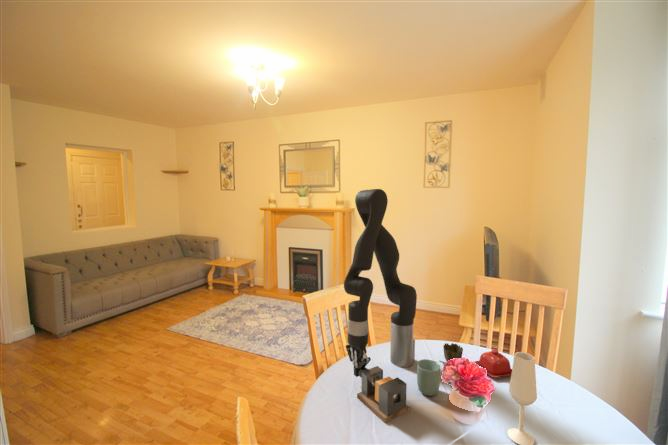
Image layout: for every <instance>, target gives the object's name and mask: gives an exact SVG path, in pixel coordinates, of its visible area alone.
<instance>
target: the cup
mask: <svg viewBox="0 0 668 445" xmlns="http://www.w3.org/2000/svg"><path fill="white" fill-rule="evenodd" d="M416 381H417V386H418V390H419V392H421V394H423V395H424V396H426V397H427V396H428V397H432V396H436V395H437V394H438V393H439V390H440V386H441V365H440V363H439V362H437V361H435V360H433V359H427V358H425V359H420V360H418V362H417V367H416Z"/></svg>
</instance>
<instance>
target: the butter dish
mask: <svg viewBox="0 0 668 445" xmlns="http://www.w3.org/2000/svg"><path fill="white" fill-rule="evenodd" d="M473 363H474V364H475V363H476V364H478V365H479V366H481V367H483V368H486V370H487V373H486V374H487V375H488V376H489V377H491V378H501V377H506V376H507V377H508V376H511V374H512V368H511V363H510V360H509V358H507V357H506V356H505V355H503V354H502V353H500V352H499V350H498V349H495V348H494V349H491V351H485V352H482V353H481V355H480V356H479V360H475V361H473ZM476 364H475V365H476Z"/></svg>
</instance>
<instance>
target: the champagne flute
mask: <svg viewBox="0 0 668 445" xmlns="http://www.w3.org/2000/svg"><path fill="white" fill-rule="evenodd" d="M535 360H536V358H535V357H534V356H533V355H532V354H530V353H528V352H524V351H517V352H514V356H513V363H512V368H511V369H512V374H511V375H510V379H509V380H510V381H509V386H508V387H509V388H508V392H509V393H510V394H509V395H510V396H511V397H512V399H513V400H514V401H515V402H516V403H517V404H518V405H519V414H518V428H517V427H512V428H509V429H508V430H507V432H506V433H507V436H508V438H509V439H510V440H511V441H513V442H514V443H516V444H518V445H534V444H535V439H534V437H533V436H532V435H531V434H530V433H528V432H527V431H525V430H524V425H525V424H524V423H525V407H527V406H531V405H533V404H534V403H535V402H536V401H537V399H538V393H537V391H538V390H537V378H536V361H535Z"/></svg>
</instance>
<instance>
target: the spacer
mask: <svg viewBox="0 0 668 445" xmlns="http://www.w3.org/2000/svg"><path fill="white" fill-rule="evenodd" d="M393 379H394V378H392V377H390V376H387V377H383V379H381V380H378V381H376V382H375V400H376V401H377V402H378V403H379V385H381V384H383V383H386V382H388V381H390V380H393Z"/></svg>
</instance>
